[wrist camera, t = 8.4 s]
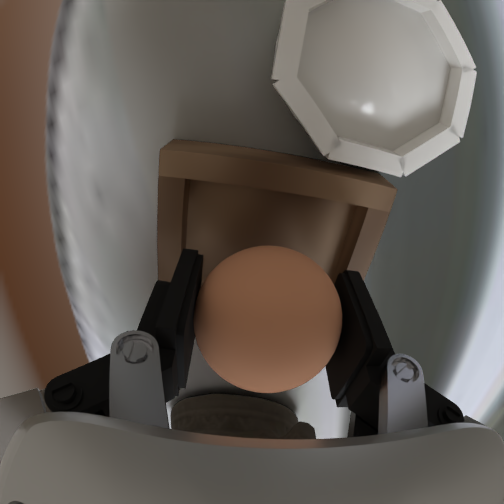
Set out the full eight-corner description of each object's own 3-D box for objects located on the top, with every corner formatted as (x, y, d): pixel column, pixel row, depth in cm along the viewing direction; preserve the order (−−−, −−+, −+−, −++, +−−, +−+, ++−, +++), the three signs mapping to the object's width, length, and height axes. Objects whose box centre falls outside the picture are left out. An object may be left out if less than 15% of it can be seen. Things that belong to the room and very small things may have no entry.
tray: (379, 173, 12) (397, 189, 11) (325, 322, 17) (331, 348, 15) (173, 138, 12) (159, 149, 10) (168, 304, 16) (160, 330, 15)
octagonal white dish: (457, 26, 8) (482, 24, 7) (425, 176, 12) (446, 191, 11) (290, -36, 8) (296, -54, 6) (259, 137, 12) (260, 146, 10)
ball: (342, 231, 11) (387, 325, 7) (309, 325, 14) (324, 420, 9) (209, 210, 11) (180, 304, 7) (201, 313, 13) (183, 410, 9)
